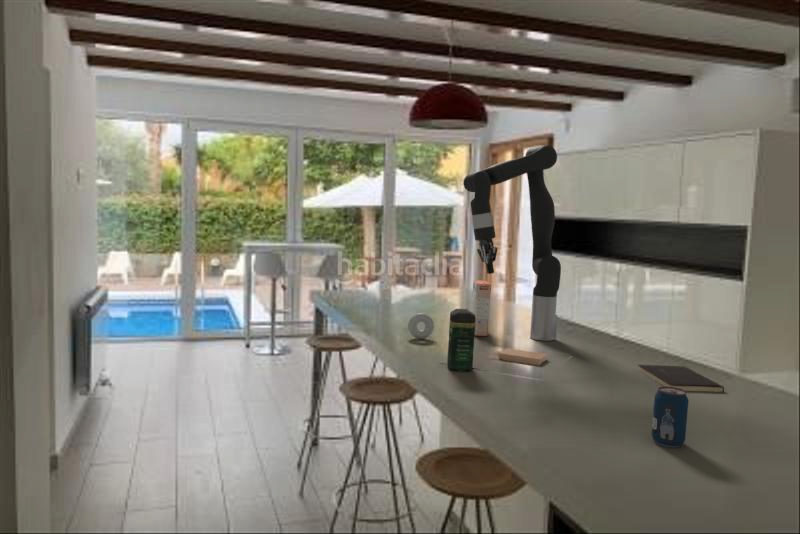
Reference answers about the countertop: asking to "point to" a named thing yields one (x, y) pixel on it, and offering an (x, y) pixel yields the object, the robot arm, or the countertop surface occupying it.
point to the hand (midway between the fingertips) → (490, 273)
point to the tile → (522, 356)
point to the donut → (416, 319)
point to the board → (495, 357)
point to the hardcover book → (680, 378)
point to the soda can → (670, 416)
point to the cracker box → (481, 306)
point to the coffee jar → (461, 340)
